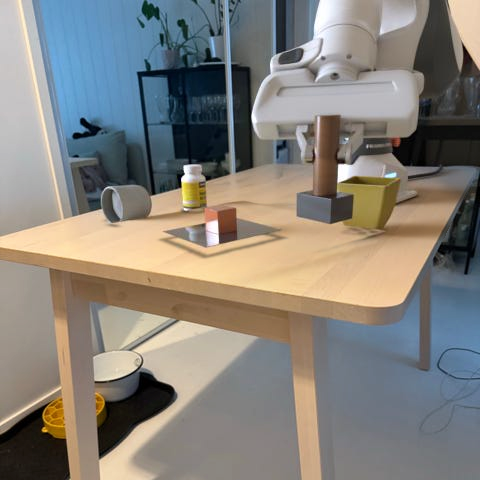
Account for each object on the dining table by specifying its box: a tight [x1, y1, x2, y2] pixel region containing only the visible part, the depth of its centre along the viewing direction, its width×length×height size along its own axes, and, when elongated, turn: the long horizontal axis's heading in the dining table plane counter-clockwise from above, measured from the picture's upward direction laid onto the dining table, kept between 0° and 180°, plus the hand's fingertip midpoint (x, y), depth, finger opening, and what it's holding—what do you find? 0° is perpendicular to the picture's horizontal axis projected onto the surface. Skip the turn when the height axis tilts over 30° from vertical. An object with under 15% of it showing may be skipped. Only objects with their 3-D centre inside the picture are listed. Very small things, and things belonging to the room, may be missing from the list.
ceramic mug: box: [100, 184, 153, 224], centre depth 96 cm, size 11×8×8 cm
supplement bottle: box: [181, 163, 208, 211], centre depth 104 cm, size 5×5×10 cm
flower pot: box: [337, 176, 401, 231], centre depth 81 cm, size 9×9×9 cm
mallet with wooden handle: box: [295, 115, 354, 225], centre depth 56 cm, size 4×6×12 cm, turn 37°
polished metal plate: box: [162, 217, 282, 249], centre depth 82 cm, size 16×14×2 cm
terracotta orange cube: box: [204, 204, 238, 234], centre depth 80 cm, size 4×4×4 cm
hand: (324, 161), depth 55 cm, fingers closed on mallet with wooden handle, 3 cm apart
